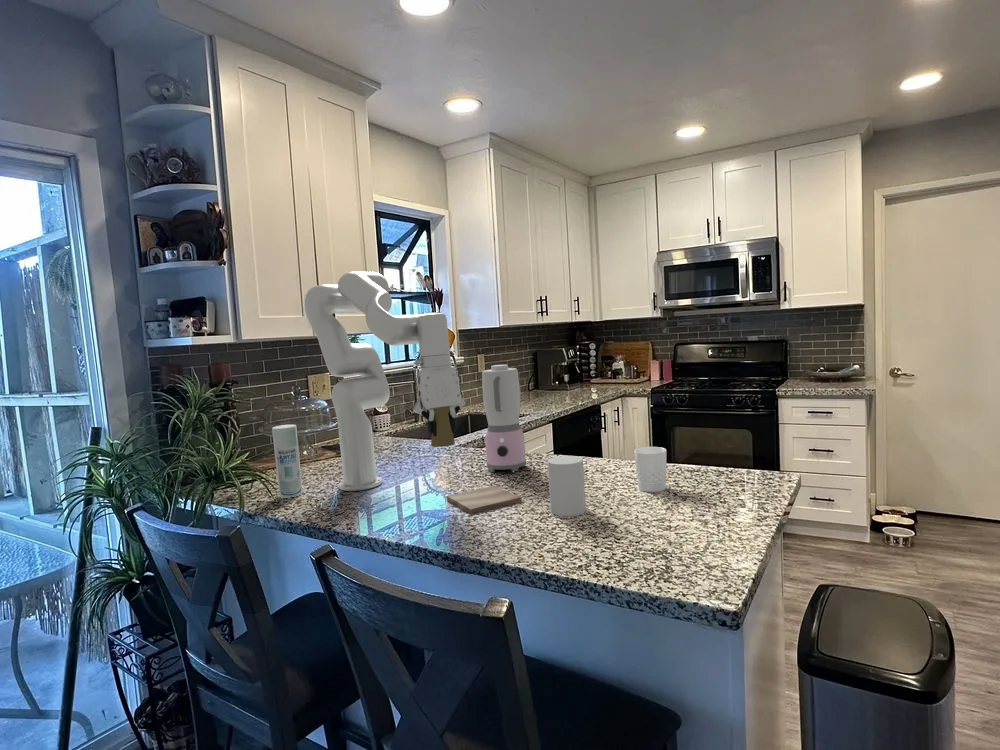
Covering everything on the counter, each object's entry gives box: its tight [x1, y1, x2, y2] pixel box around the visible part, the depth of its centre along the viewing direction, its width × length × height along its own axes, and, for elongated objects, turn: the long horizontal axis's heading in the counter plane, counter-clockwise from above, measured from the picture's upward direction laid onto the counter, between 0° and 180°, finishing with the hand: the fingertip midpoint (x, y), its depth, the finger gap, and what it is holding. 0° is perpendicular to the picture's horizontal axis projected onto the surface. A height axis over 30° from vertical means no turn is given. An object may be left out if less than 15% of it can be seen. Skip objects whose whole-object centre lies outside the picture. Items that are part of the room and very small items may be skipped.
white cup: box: [633, 446, 667, 493], centre depth 146 cm, size 8×8×10 cm
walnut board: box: [446, 485, 522, 515], centre depth 145 cm, size 14×14×1 cm
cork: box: [430, 407, 456, 448], centre depth 145 cm, size 6×6×11 cm
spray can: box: [271, 424, 304, 499], centre depth 164 cm, size 6×6×20 cm
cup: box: [547, 455, 587, 517], centre depth 133 cm, size 8×8×12 cm
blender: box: [481, 364, 527, 473], centre depth 175 cm, size 16×12×32 cm
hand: (442, 433), depth 146 cm, fingers closed on cork, 4 cm apart
